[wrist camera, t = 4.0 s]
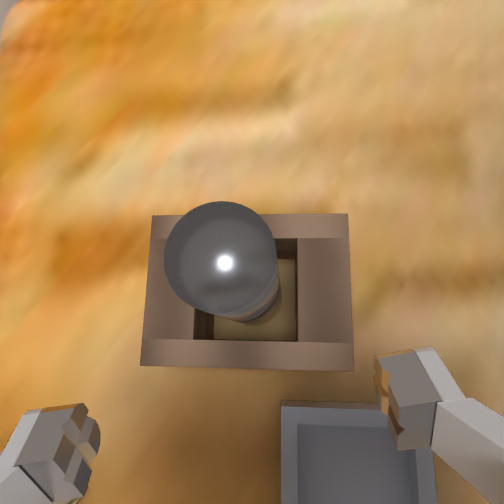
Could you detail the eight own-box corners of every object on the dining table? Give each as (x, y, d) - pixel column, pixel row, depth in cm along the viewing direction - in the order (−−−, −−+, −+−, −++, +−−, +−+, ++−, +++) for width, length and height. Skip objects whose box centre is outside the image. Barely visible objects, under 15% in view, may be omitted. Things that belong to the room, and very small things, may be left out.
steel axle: (281, 271, 28) (276, 200, 13) (281, 326, 27) (275, 313, 12) (228, 271, 28) (167, 202, 14) (226, 325, 27) (159, 312, 13)
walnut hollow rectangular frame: (335, 239, 28) (347, 213, 22) (339, 363, 26) (354, 371, 20) (179, 239, 29) (152, 215, 23) (171, 359, 27) (139, 365, 21)
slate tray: (415, 404, 25) (429, 411, 23) (427, 559, 23) (443, 585, 21) (281, 399, 26) (281, 406, 23) (281, 549, 24) (280, 573, 22)
